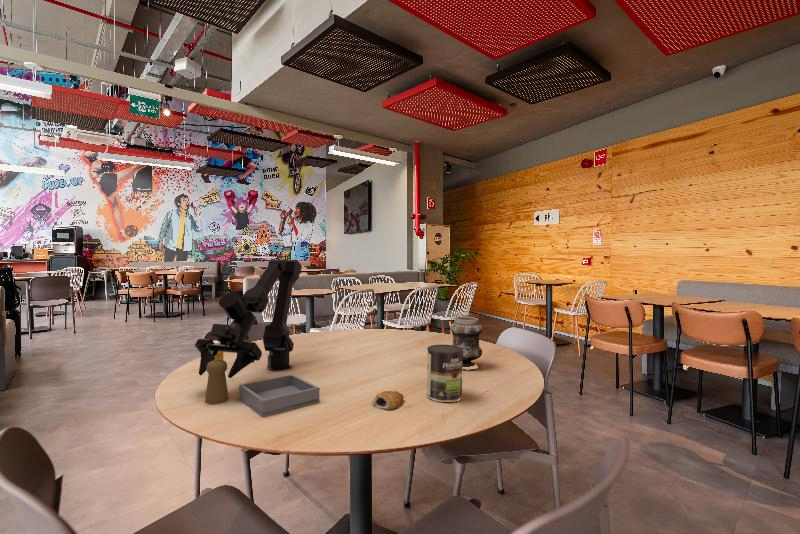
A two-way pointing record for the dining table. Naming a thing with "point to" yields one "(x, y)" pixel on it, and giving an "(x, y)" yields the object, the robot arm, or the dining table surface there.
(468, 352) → the apothecary jar
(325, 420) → the dining table surface
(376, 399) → the pastry
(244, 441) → the dining table surface
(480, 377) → the dining table surface
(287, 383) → the grey bin
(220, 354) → the supplement bottle
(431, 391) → the coffee can
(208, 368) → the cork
